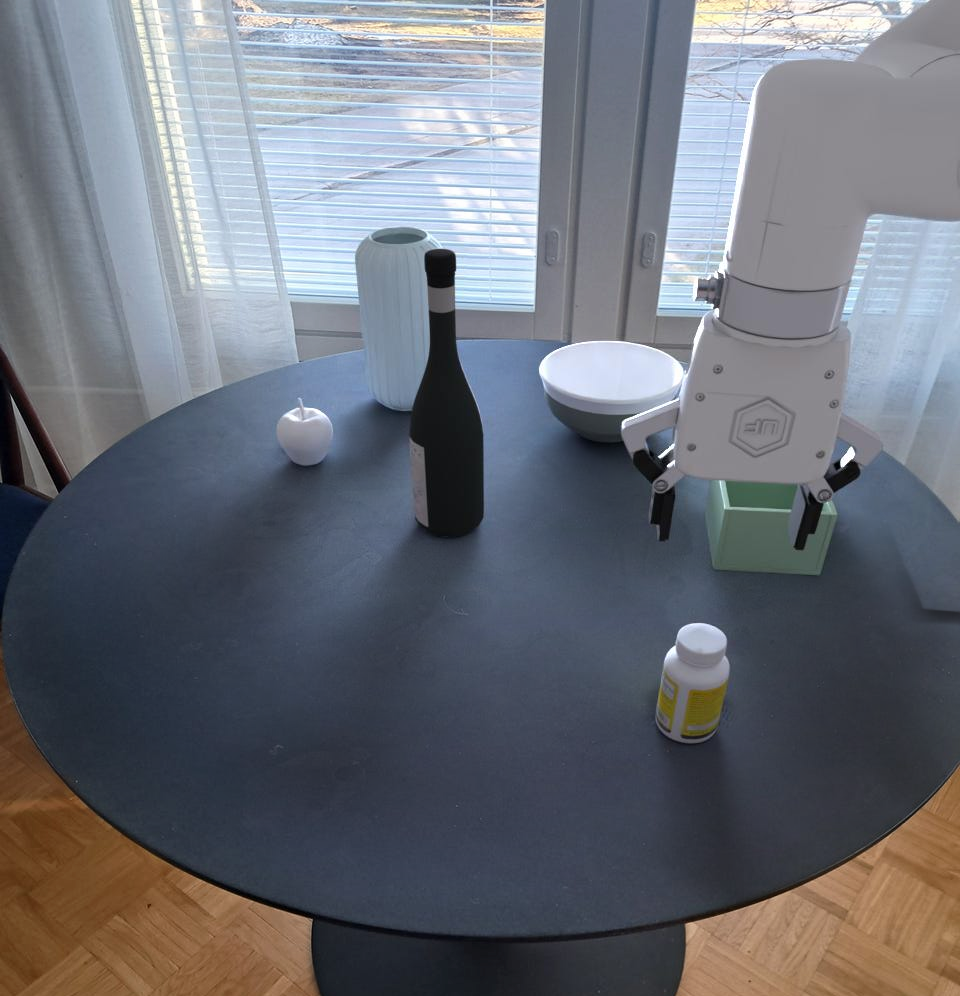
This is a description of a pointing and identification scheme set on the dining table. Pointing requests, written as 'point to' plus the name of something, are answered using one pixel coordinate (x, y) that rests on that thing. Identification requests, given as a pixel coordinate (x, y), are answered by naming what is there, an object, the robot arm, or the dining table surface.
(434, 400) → the wine bottle
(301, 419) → the plain white apple
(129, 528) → the dining table surface
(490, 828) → the dining table surface
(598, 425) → the bowl
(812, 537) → the bin
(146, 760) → the dining table surface
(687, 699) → the supplement bottle
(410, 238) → the vase
